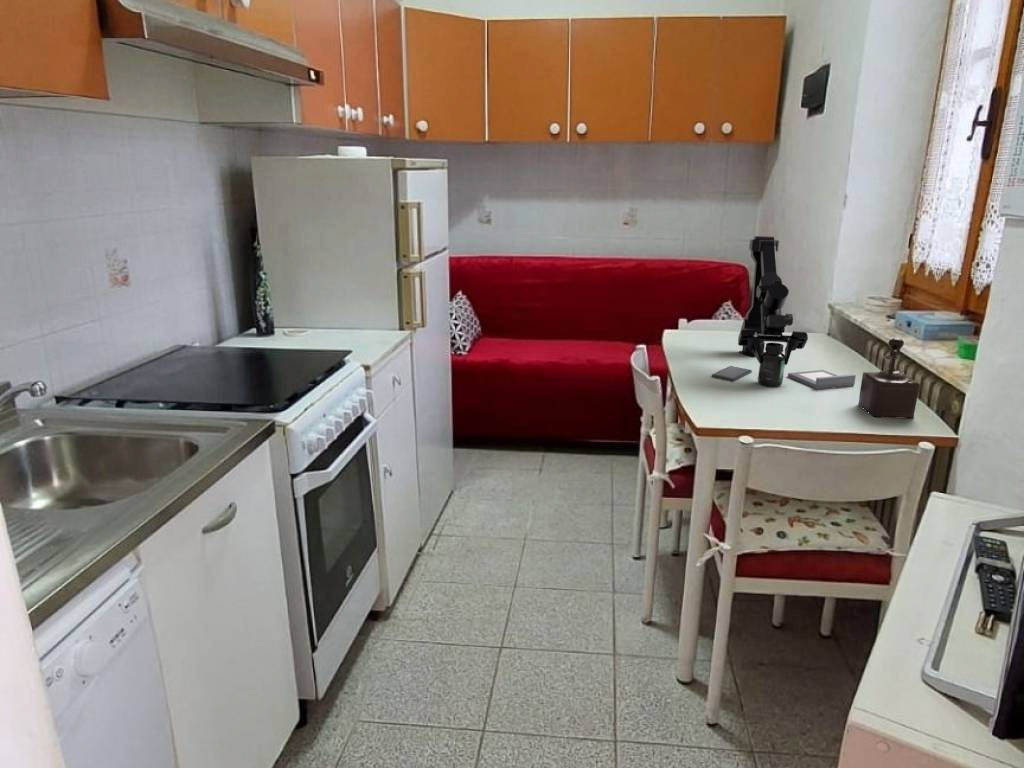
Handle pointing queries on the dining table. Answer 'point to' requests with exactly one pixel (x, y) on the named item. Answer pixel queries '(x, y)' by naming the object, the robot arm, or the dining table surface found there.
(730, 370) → the phone
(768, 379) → the supplement bottle
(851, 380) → the tray
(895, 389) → the pepper mill
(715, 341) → the dining table surface
